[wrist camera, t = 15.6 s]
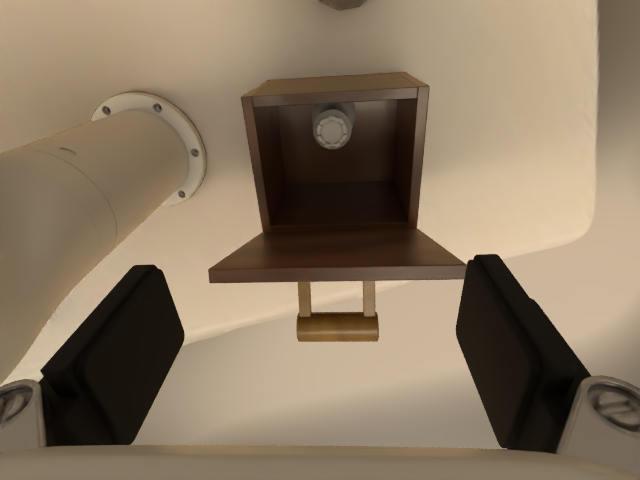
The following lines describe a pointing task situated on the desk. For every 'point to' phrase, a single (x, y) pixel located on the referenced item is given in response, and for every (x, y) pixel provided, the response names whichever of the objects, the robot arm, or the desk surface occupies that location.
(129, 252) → the desk surface
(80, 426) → the robot arm
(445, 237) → the desk surface
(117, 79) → the desk surface
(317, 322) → the lid
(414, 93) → the chest
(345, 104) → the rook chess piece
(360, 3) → the water bottle
